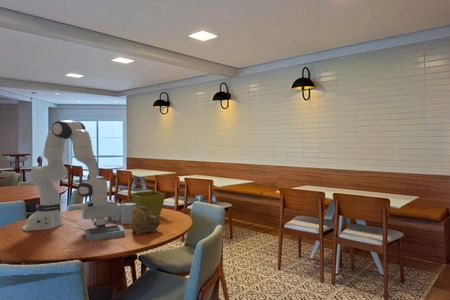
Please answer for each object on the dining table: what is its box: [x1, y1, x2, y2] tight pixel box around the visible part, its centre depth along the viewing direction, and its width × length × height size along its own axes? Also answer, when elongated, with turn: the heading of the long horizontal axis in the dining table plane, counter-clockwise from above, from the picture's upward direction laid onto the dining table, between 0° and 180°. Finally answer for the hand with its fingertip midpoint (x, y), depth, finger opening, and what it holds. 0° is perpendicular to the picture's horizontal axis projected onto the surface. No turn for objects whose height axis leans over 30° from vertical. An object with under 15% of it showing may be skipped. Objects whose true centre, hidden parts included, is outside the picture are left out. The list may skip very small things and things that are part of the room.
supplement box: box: [121, 202, 136, 225], centre depth 217 cm, size 7×7×13 cm
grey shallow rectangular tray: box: [84, 224, 126, 242], centre depth 188 cm, size 20×14×4 cm
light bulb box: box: [108, 202, 124, 222], centre depth 226 cm, size 11×7×11 cm, turn 68°
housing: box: [94, 217, 107, 228], centre depth 201 cm, size 5×8×7 cm, turn 29°
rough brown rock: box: [130, 206, 161, 235], centre depth 196 cm, size 23×17×15 cm
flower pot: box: [130, 190, 166, 218], centre depth 234 cm, size 19×19×17 cm
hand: (100, 224), depth 201 cm, fingers closed on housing, 5 cm apart
